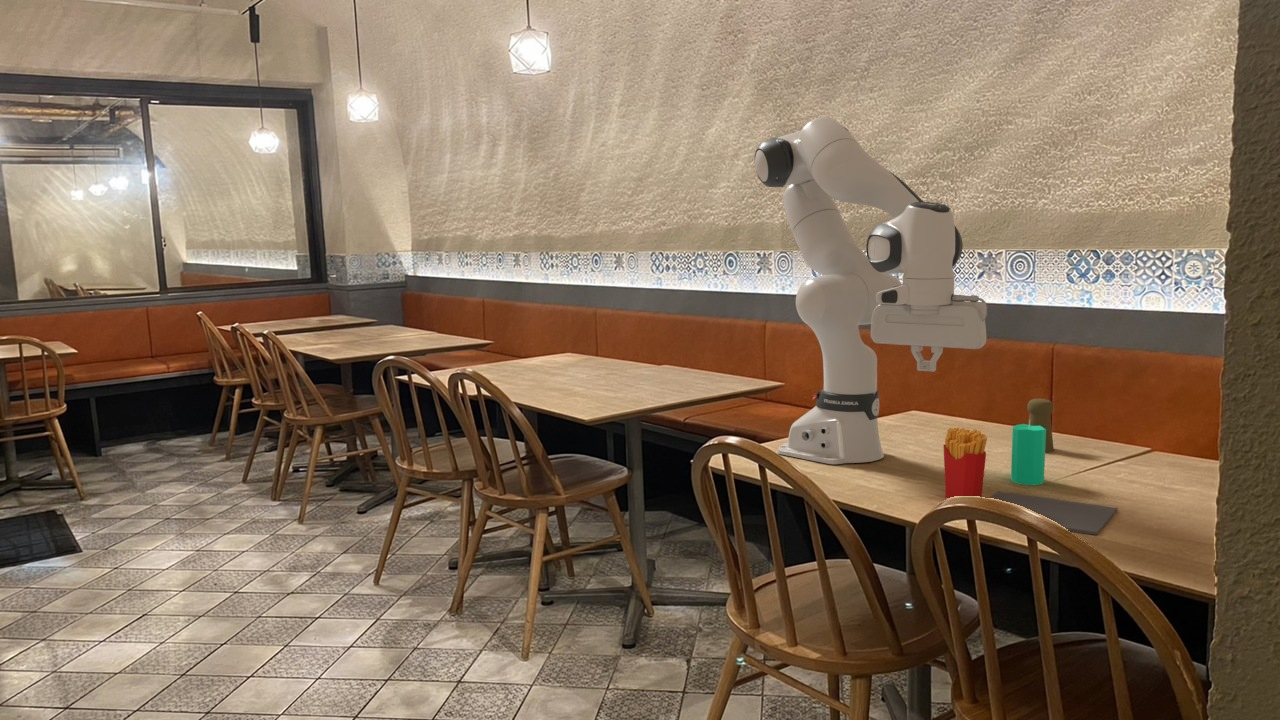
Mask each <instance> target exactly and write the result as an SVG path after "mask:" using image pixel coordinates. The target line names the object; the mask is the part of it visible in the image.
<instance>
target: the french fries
mask: <svg viewBox="0 0 1280 720" xmlns="http://www.w3.org/2000/svg"><path fill="white" fill-rule="evenodd" d="M945 436H946V437H945V439H944V443H945V444H943V465H944V485H945V486H944V489H945V490H944V491H945V499H946V498H950V497H954V496H980V497H981V498H982V494H983V485H984V477H985V476H984V475H985V468H986V460H987V459H986V457H987V453H986V451H985V448H986V445H987V440H988V436H986V435H985V434H984V433H982V431H981V430H977V429H973V430H970V429H965V428H960V427H954V428H953V427H949V428H948V429H947V433H946V435H945Z"/></svg>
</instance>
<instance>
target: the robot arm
mask: <svg viewBox="0 0 1280 720" xmlns="http://www.w3.org/2000/svg"><path fill="white" fill-rule="evenodd" d="M754 167H755V168H754V169H755V171H756V175H757V177H758V179H759V181H760V182H761V183H762V184H763V185H765V187H768V188H783V187H785V186H787V187H786V189H785V190H784V193H783V195H782V203H783V207H784V213H785V216H786V219H787V223H788V226H789V229H790V231H791V234H792V236H793V238H794V240H795V242H796V244H797V247H798V249H799V252H800V254H801V255H802V259H803V261H804V262H805V264H806V265H807V266H808V267H809V268H810V269H811V270H812V271H814V272H815V273H819V274H821V275H820V276H815V277H813V278H809V279H807V280H805V281H803V283H801V284H800V286H799V287H798V290H797V292H796V296H795V308H796V312H797V314H798V316H799V318H800V319H801V320H802V322H803V323H804V324H806V325H807V326H808V327H809V328H810V329H811V330H812V332H813V333H814V335H815V336H816V339H817V341H818V342H819V343H818V344H819V346H820V349H821V354H822V366H823V367H822V368H823V388H822V389H821V390H819V391H817V392H816V393H814V394H812V396H813V398H812V400H813V401H814V400H815V406H814V407H813V408H811V409H810V410H809V411H807V412H806V413H804V414H803V415H801V417H799V418H798V419H796V420H795V421H794V422H793V423H792V424H791V426H790V429H789V432H788V440H787V441H786V442H784V443H782V444H780V445H779V446H778V448H777V454H778V455H784V456H788V457H793V458H799V459H802V460H806V461H807V460H808V461H811V462H818V463H822V464H828V465H842V464H843V465H844V464H855V463H856V464H859V463H868V462H876V461H879V460H881V459H883V458H884V456H885V455H884V451H883V448H882V445H881V440H880V439H881V438H880V432H879V423H878V417H879V411H880V392H879V390H878V357H877V354H876V352H875V350H874V349H872V348H871V347H870V346H868V345H867V344H865V343H864V341H863V340H862V337H861V334H860V329H859V326H864V325H870V338H871V341H873V342H874V343H875V344H884V345H885V344H886V345H896V346H898V345H900V346H910V353H911V354H912V355H913V356H912V357H913V358H914V359H915V361H916V370H917V371H918V372H928V373H929V372H932V373H934V372H936V370H937V362H938V360H939V359H940V356H942V354H943V352H944V351H943V350H944V348H949V349H950V348H951V349H952V348H953V349H965V350H966V349H969V350H979V349H981V348H983V347H984V346H985V345H986V343H987V327H986V318H987V315H988V305H987V302H986V301H985V300H984V299H983V298H981V297H979V295H974V294H973V295H963V294H955V272H954V267H955V266H956V264H957V263H958V261H960V258H961V257H962V253H963V237H962V236H961V233H960V231H959V230H958V228H957V227H956V226H955V219H954V214H953V211H952V209H951V207H950V206H948V205H946V204H944V203H939V202H931V201H924V200H923V199H921V198H920V197H919V196H918V194H916V193H915V192H914V191H913V189H911V187H909V185H907V184H906V183H905V182H904V180H902V179H901V178H899V177H898V176H897V175H896V174H894V173H893V172H891V171H890V170H888V169H887V168H886V167H884V166H883V165H881V164H880V163H879V162H878V161H876V160H875V159H874V158H873V157H872V156H871V155H870V154H869V153H868V152H866V150H865V149H864V148H863V147H862V146H861V144H859V142H858V141H857V139H856V138H855V137H854V136H853V135H852V134H851V132H850V131H849V130H848V128H846V127H845V126H843V125H842V124H841V123H839V122H838V121H837V120H835V119H834V118H831V117H828V116H827V117H826V116H820V117H816V118H814V119H811V120H810V121H808V122H807V123H806V124H805V125H804V126H803V127H802V128H801V130H798V131H794V132H791V133H788V134H787V133H786V134H784V135H781V136H779V137H772V138H769V139H766V140H764V141H761V143H759V145H758V147H757V148H756V150H755V152H754ZM834 200H835V201H838V202H842V203H848V204H849V203H850V204H854V205H855V204H856V205H863V206H867V207H870V208H871V207H872V208H876V209H879V210H881V211H883V212H885V213H887V214H889V215H890V216H891V217H892V219H890V220H887V221H885V222H883V223H878V224H877V225H875V226H874V227H873V228H872V230H871V231H870V232H869V235H868V237H867V240H866V246H865V248H866V249H865V250H866V253H865V252H864V251H863V250H862V249H861V248H860V247H859V246H858V244H857V243H856V241H855V240H854V238H853V236H852V235H851V232H850V230H849V229H848V228H849V227H847V225H846V222H845V220H844V219H843V216H842V215H841V212H840V210H839V208H838V206H837V205H836V203H835V201H834ZM893 274H903V275H902V282H901V281H900V279H899V278H898V277H896V276H894V275H893ZM924 347H931V349H930V351H931V352H930V353H933V355H932V357H931V358H930V360H926V359H924V357H923V355H922V353H921V352H922V351H923V350H924Z"/></svg>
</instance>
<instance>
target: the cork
mask: <svg viewBox="0 0 1280 720" xmlns="http://www.w3.org/2000/svg"><path fill="white" fill-rule="evenodd" d="M1026 408H1027V412H1028V413H1029V417H1028V420H1029V419H1030V426H1041V427H1043V428H1044V429H1046V444H1045V453H1052V452H1053V451H1054V440H1053V429H1052V419H1051V415H1052V413H1053V411H1054V404H1053V402H1052V401H1051V400H1050V399H1045V398H1032V399H1030V400H1029V401H1028V403H1027V407H1026ZM1027 422H1028V423H1027V425H1029V421H1027Z"/></svg>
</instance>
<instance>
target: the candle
mask: <svg viewBox="0 0 1280 720" xmlns="http://www.w3.org/2000/svg"><path fill="white" fill-rule="evenodd" d="M1028 422H1029V425H1028V424H1025V423H1021V424H1016V425H1013V426H1012V439H1011V440H1012V441H1011V442H1012V443H1011V463H1010V464H1011V465H1010V466H1011V468H1010V469H1011V470H1010V473H1011V474H1010V480H1011V482H1012V483H1015V484H1020V485H1025V486H1026V485H1027V486H1036V485H1037V486H1038V485H1042V484H1044V483H1045V468H1046V467H1045V466H1046V465H1045V463H1046V452H1045V444H1046V429H1044V428H1043V427H1041V426H1030V419H1029V418H1028Z"/></svg>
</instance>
